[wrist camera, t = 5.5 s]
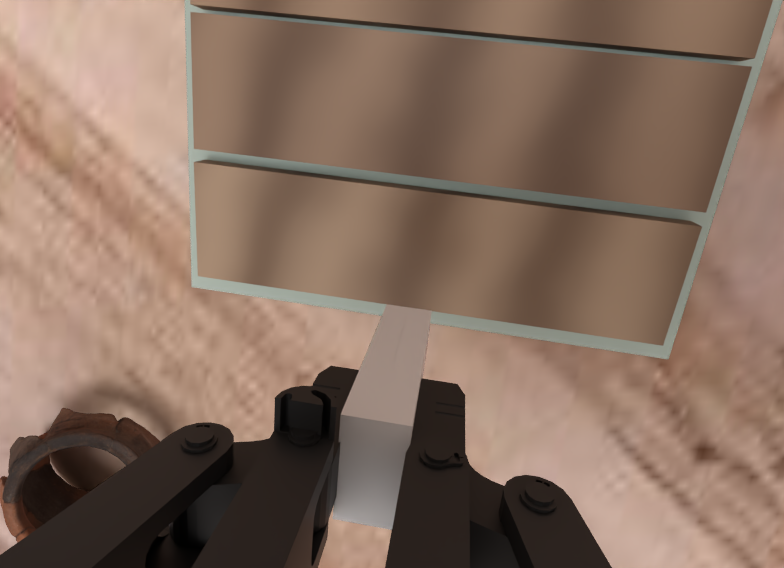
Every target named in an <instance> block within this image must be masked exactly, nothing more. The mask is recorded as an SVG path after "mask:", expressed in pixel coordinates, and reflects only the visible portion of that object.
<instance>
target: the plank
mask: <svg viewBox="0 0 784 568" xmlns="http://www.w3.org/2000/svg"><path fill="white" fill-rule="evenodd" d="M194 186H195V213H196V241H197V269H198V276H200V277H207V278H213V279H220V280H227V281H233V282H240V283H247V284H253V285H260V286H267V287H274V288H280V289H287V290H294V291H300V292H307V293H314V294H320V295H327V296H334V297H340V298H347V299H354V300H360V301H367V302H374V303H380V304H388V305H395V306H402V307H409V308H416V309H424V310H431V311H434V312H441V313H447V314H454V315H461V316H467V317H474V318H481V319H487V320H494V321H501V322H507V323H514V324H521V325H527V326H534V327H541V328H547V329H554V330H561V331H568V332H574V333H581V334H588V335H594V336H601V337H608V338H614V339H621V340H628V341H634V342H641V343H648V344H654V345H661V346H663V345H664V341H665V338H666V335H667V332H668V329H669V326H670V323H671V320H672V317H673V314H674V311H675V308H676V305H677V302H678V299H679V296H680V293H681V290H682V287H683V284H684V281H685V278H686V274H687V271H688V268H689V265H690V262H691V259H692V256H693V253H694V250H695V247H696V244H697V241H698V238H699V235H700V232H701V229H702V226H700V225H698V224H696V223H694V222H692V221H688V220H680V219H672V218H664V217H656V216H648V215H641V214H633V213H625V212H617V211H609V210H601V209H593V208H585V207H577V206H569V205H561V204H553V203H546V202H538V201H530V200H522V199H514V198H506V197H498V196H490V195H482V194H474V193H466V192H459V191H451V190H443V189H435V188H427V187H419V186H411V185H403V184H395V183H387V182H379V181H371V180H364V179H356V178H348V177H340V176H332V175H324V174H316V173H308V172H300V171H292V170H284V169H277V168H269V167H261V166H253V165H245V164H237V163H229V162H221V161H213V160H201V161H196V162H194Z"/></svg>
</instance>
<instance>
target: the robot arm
mask: <svg viewBox="0 0 784 568" xmlns="http://www.w3.org/2000/svg"><path fill="white" fill-rule="evenodd" d="M431 313H432V311H431V310H424V309H416V308H409V307H402V306H395V305H388V304H387V305H386V307H385V310H384V312H383V314H382V317H381V319H380V322H379V324H378V326H377V329H376V331H375V334H374V336H373V338H372V341H371V343H370V345H369V348H368V350H367V353H366V355H365V357H364V360H363V362H362V365H361V367H360V369H359V370H355V369H348V368H342V367H335V366H330V367H329V368H327V369H325V370H324V371H322V372H321V373H319V374H318V376H317V378H316V380H315V381H314V383H313V386H299V387H293V388H289V389H287V390H284V391H282V392H281V393H280V394H278V395H277V396H276V397H275V420H274V432H273V434H272V435H271V437H270V438H269V439H265V440H261V441H252V442H234V436H233V434H232V433H231V431H230V429H228V428H226V427H224V426H223V425H220V424H215V423H196V424H192V425H188V426H185V427H183V428H181V429H179V430H177V431H175V432H173V433H172V434H171V435H169V436H168V437H166V438H165V439H164V440H162V441H161V442H159V443H158V444H156V445H155V446H154V447H152V448H151V449H149V450H148V451H147V452H145V453H144V454H142V455H141V456H140V457H138V458H137V459H135V460H134V461H132V462H131V463H130V464H128V465H127V466H125V467H124V468H123V469H121V470H120V471H118V472H117V473H116V474H114V475H113V476H111V477H110V478H108V479H107V480H106V481H104V482H103V483H101V484H100V485H99V486H97V487H96V488H94V489H93V490H92V491H90V492H89V493H87V494H86V495H84V496H83V497H82V498H80V499H79V500H77V501H76V502H75V503H73V504H72V505H70V506H69V507H68V508H66V509H65V510H63V511H62V512H60V513H59V514H58V515H56V516H55V517H53V518H52V519H51V520H49V521H48V522H46V523H45V524H44V525H42V526H41V527H39V528H38V529H36V530H35V531H34V532H32V533H31V534H29V535H28V536H27V537H25V538H24V539H22V540H21V541H19V542H18V543H17V544H15V545H14V546H12V547H11V548H10V549H8V550H7V551H5V552H4V553H3V554H1V555H0V568H318V565H319V562H320V559H321V556H322V552H323V549H324V546H325V543H326V540H327V534H328V520H329V517H330V514H331V511H332V508H333V505H334V509H333V519H336V520H342V521H347V522H352V523H358V524H363V525H369V526H374V527H379V528H385V529H390V530H392V533H391V538H390V544H389V550H388V555H387V561H386V566H385V568H612V567H611V566H610V564H609V562H608V561H607V559H606V557H605V555H604V554H603V552H602V550H601V549H600V547H599V545H598V544H597V542H596V540H595V539H594V537H593V535H592V534H591V532H590V530H589V528H588V527H587V525H586V523H585V522H584V520H583V518H582V517H581V515H580V513H579V512H578V510H577V508H576V507H575V505H574V503H573V501H572V500H571V498H570V497H569V496H568V495H567V494H566V492H565V491H564V490H563V489H561V488H560V487H559V486H557V485H556V484H554V483H553V482H551V481H548V480H546V479H543V478H541V477H536V476H530V475H523V476H516V477H514V478H512V479H510V480H509V481H507V483H506V485H505V486H503V485H500V484H498V483H495V482H493V481H491V480H489V479H487V478H485V477H483V476H482V475H480V474H479V473H478V472H476V471H475V470H474V469H473V468H472V467H471V466H470V464H469V462H468V459H467V455H466V454H465V394H464V393H463V392H462V390H461V389H460V387H459V386H458V384H453V383H447V382H440V381H434V380H428V379H423V373H424V366H425V358H426V351H427V343H428V336H429V328H430V321H431Z"/></svg>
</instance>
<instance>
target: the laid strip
mask: <svg viewBox="0 0 784 568" xmlns="http://www.w3.org/2000/svg"><path fill="white" fill-rule="evenodd" d="M772 2H773V0H190V4H191V5H193V6H196V7H198V8H201V9H203V10H212V11H222V12H232V13H243V14H253V15H263V16H274V17H284V18H294V19H305V20H315V21H325V22H336V23H346V24H356V25H367V26H377V27H387V28H398V29H408V30H418V31H429V32H439V33H449V34H460V35H470V36H480V37H491V38H501V39H511V40H522V41H532V42H542V43H553V44H563V45H573V46H584V47H594V48H604V49H615V50H625V51H635V52H646V53H656V54H666V55H677V56H687V57H697V58H708V59H718V60H728V61H739V62H740V61H745V60H749V59H754V58H755V56H756V53H757V50H758V47H759V44H760V40H761V37H762V34H763V31H764V28H765V24H766V21H767V18H768V15H769V12H770V8H771V5H772Z"/></svg>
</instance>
